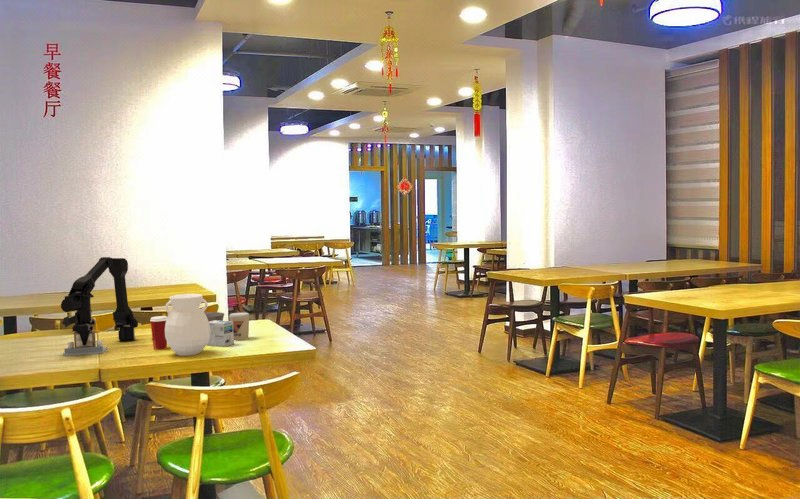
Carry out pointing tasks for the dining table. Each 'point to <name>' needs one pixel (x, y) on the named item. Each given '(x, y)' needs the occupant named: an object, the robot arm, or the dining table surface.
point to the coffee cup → (240, 325)
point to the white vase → (187, 324)
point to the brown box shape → (90, 342)
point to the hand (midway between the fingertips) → (85, 344)
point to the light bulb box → (221, 333)
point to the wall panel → (84, 349)
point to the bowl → (214, 316)
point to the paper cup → (158, 332)
